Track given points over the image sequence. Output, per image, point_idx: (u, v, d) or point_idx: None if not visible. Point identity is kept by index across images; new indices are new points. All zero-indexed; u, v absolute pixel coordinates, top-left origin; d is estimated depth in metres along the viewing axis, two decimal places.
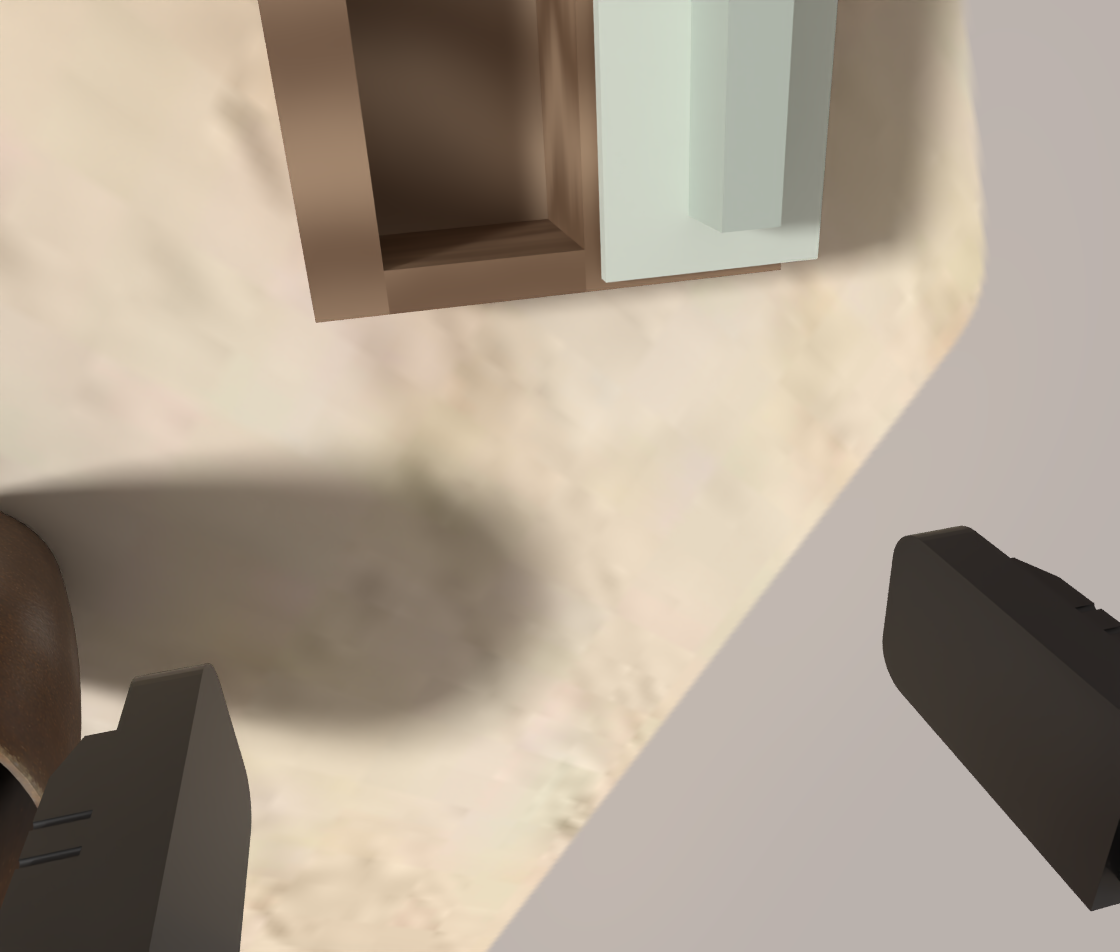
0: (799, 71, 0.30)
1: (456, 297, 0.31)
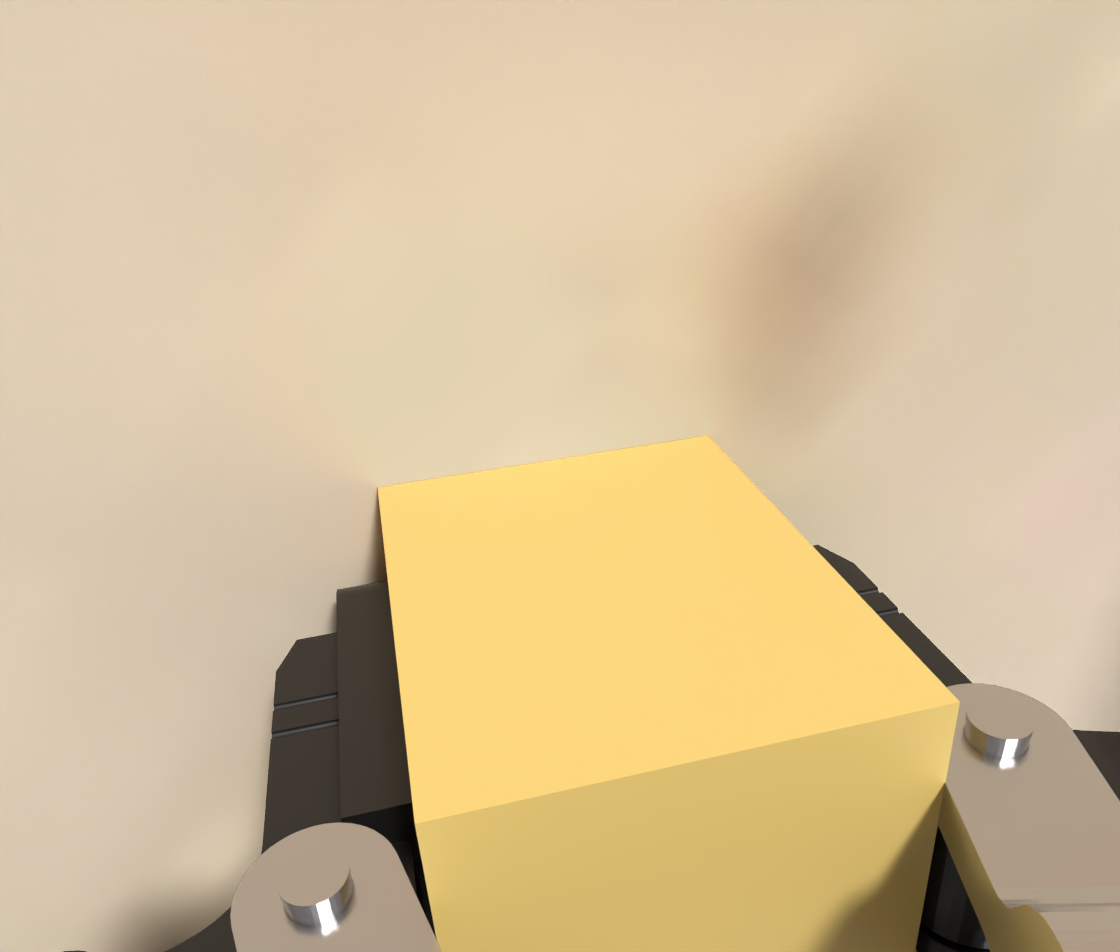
0: None
1: None
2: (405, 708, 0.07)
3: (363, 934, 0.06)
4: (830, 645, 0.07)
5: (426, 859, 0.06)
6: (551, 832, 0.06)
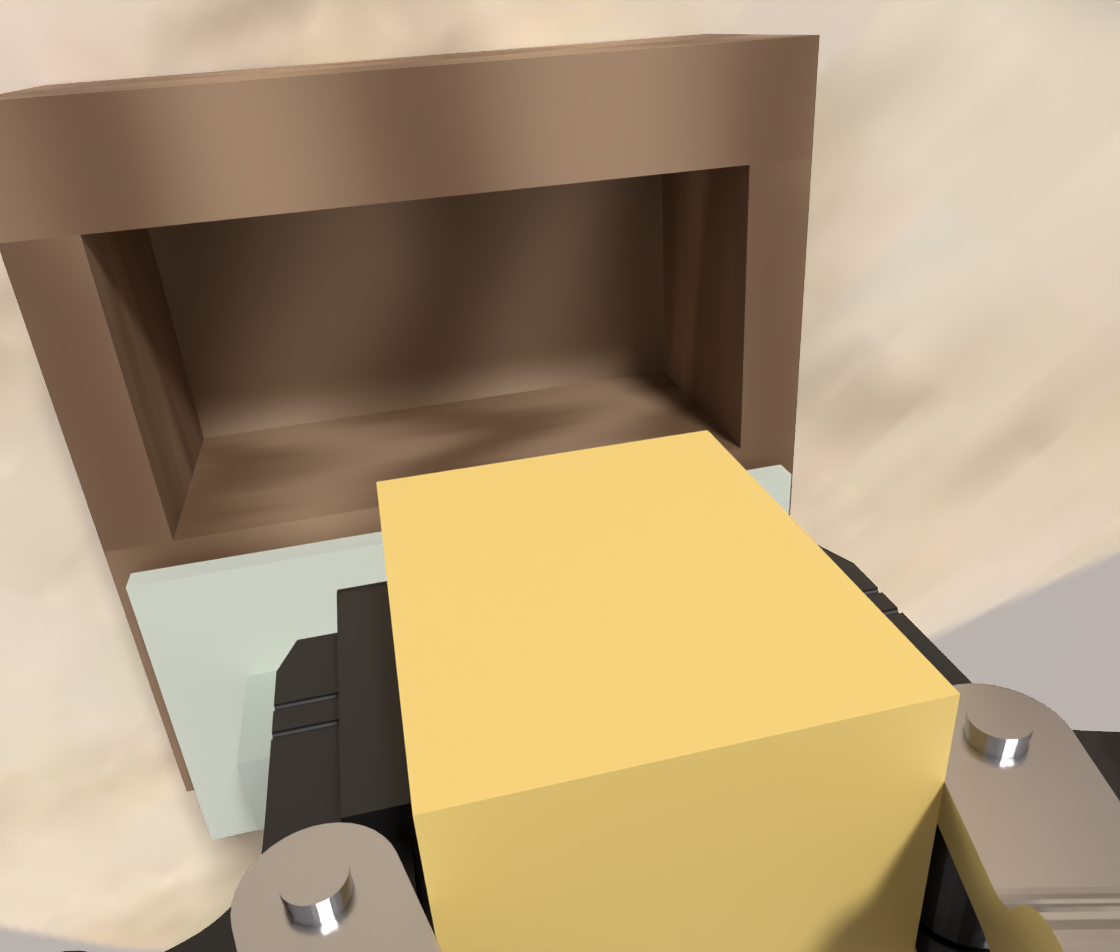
0: None
1: (54, 356, 0.18)
2: (403, 701, 0.07)
3: (362, 934, 0.06)
4: (830, 638, 0.07)
5: (424, 851, 0.06)
6: (549, 824, 0.06)
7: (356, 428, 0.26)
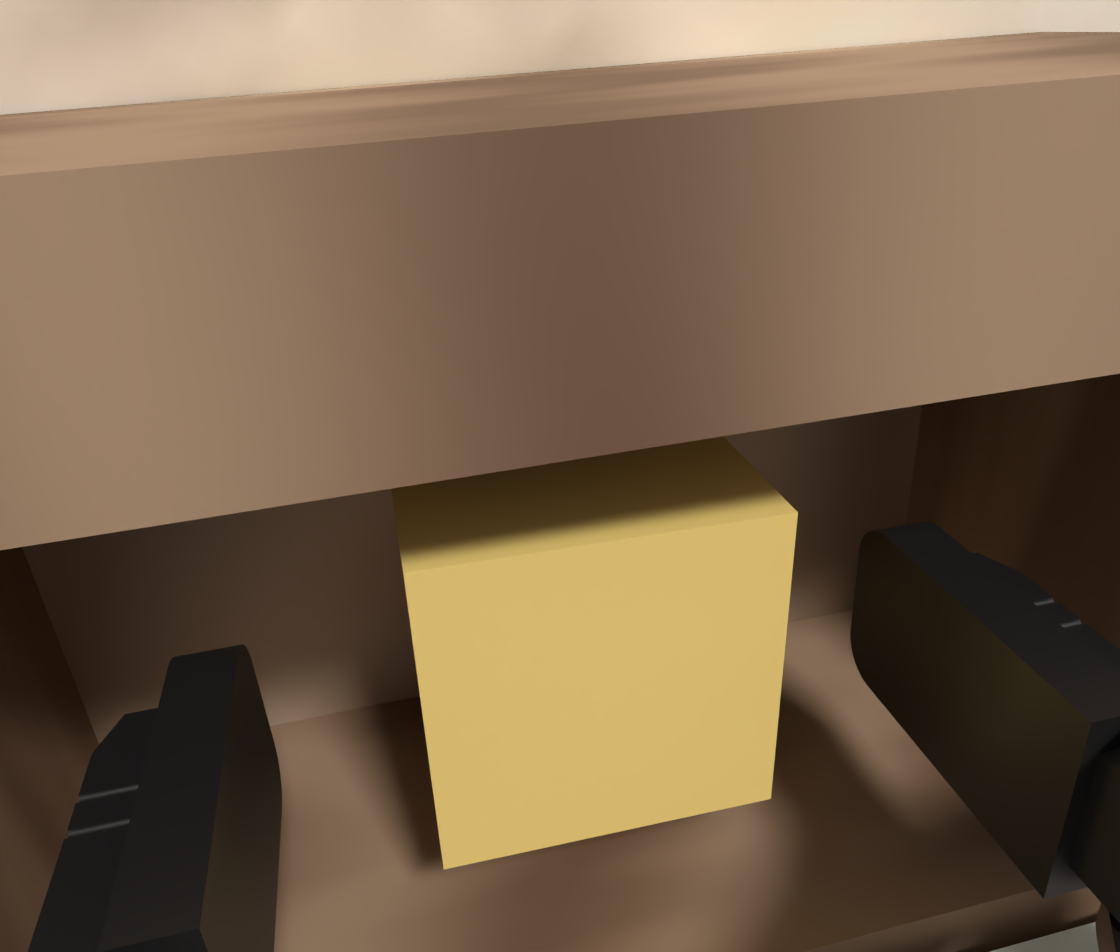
0: None
1: None
2: (397, 515, 0.09)
3: None
4: (713, 482, 0.10)
5: (410, 604, 0.09)
6: (500, 590, 0.09)
7: (380, 743, 0.14)
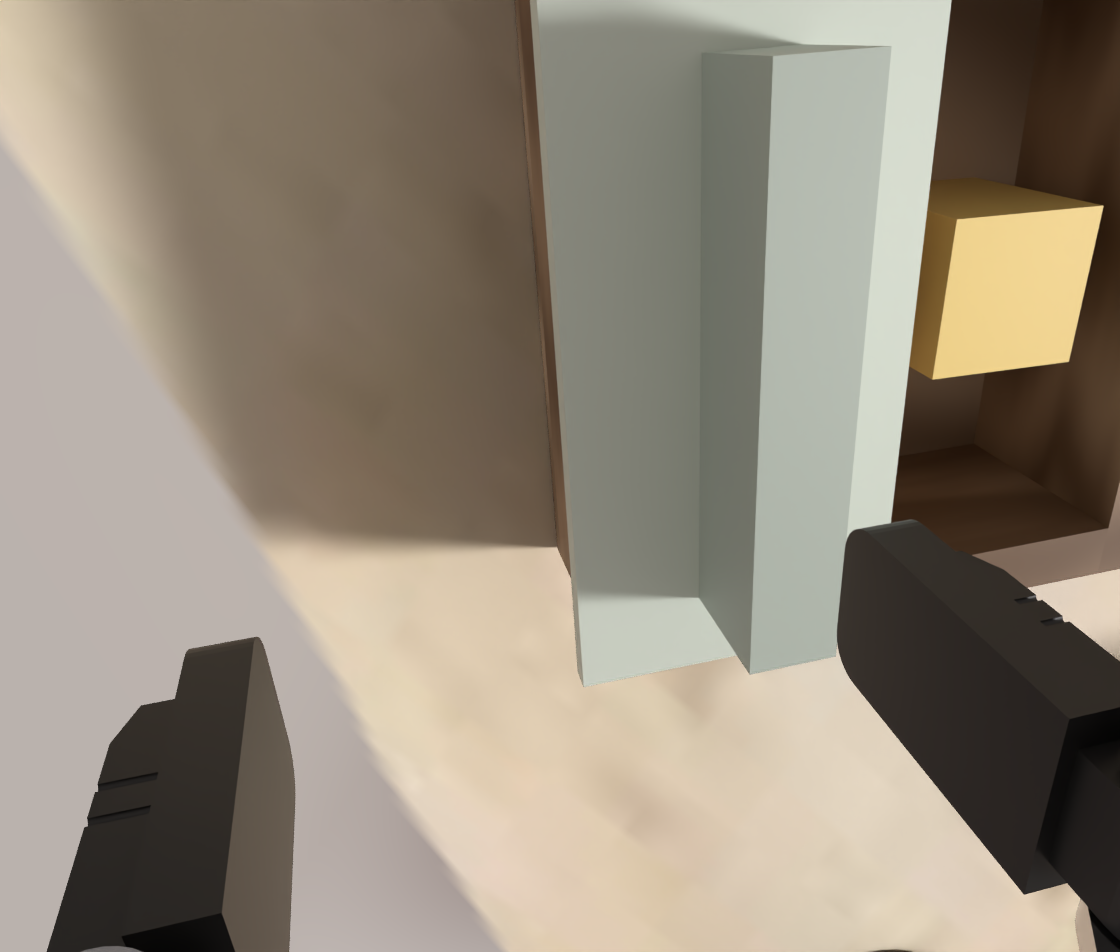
0: (614, 295, 0.18)
1: None
2: (1070, 199, 0.23)
3: None
4: None
5: (1089, 208, 0.22)
6: (1082, 244, 0.22)
7: None
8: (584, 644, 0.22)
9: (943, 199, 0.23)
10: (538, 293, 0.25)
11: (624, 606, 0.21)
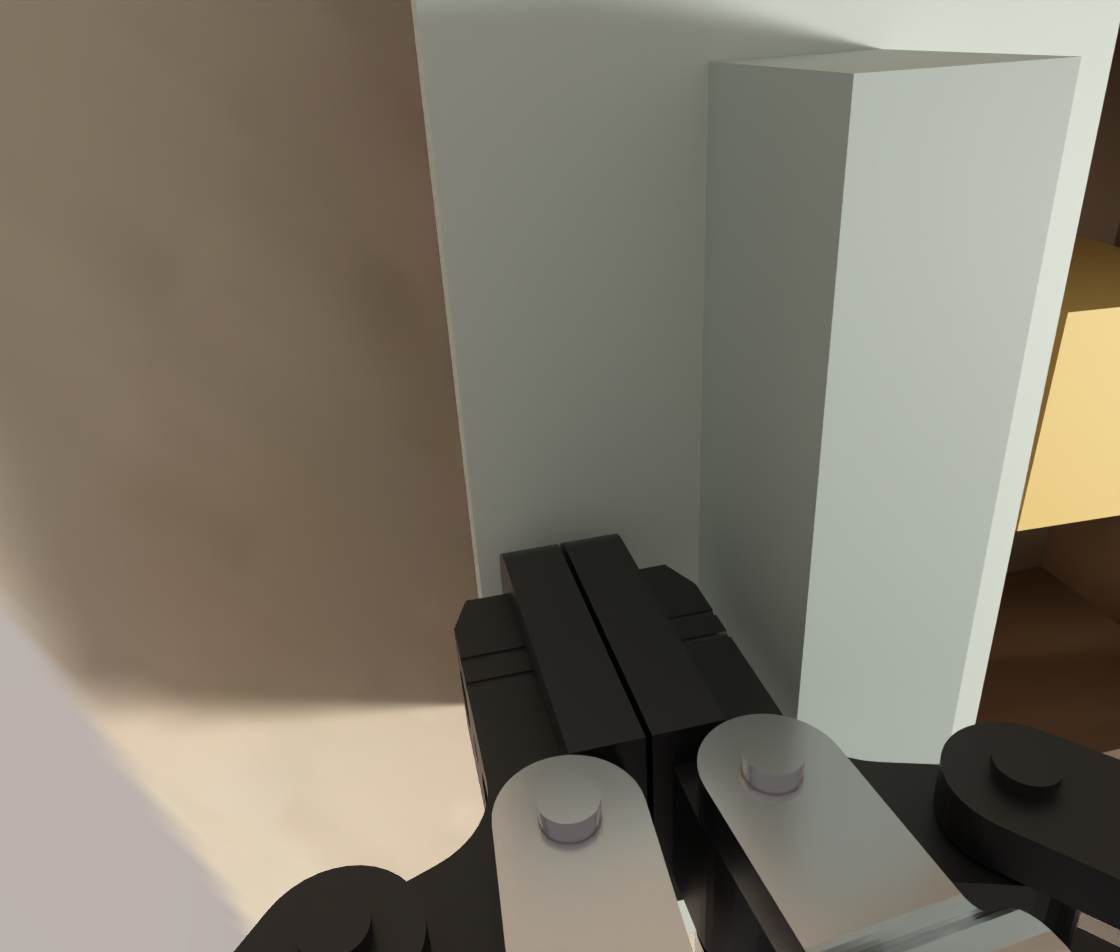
0: (562, 452, 0.11)
1: None
2: None
3: (625, 851, 0.07)
4: None
5: None
6: None
7: None
8: None
9: None
10: None
11: None
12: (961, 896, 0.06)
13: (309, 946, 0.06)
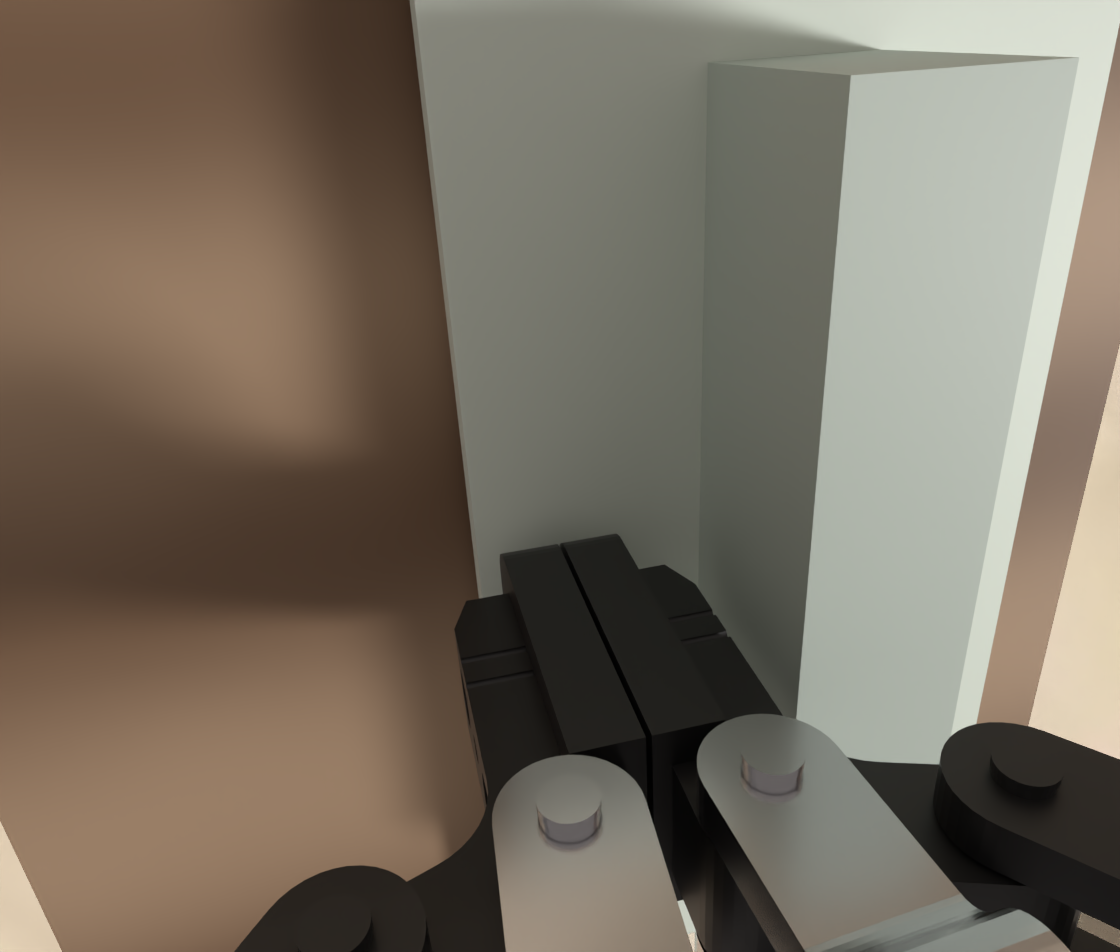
0: (562, 452, 0.11)
1: None
2: None
3: (625, 851, 0.07)
4: None
5: None
6: None
7: None
8: None
9: None
10: None
11: None
12: (961, 896, 0.06)
13: (309, 946, 0.06)
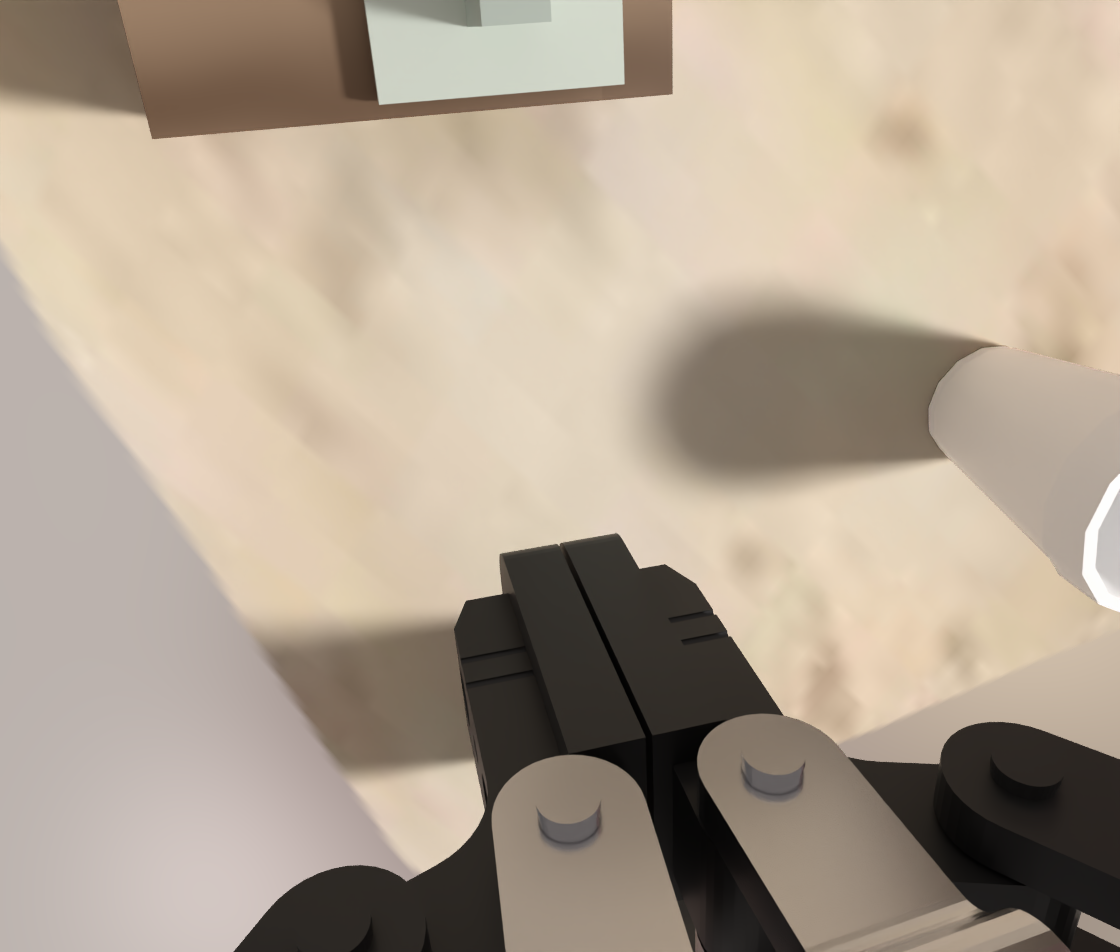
0: None
1: None
2: None
3: (625, 851, 0.07)
4: None
5: None
6: None
7: None
8: (376, 59, 0.28)
9: None
10: None
11: (405, 24, 0.27)
12: (961, 895, 0.06)
13: (309, 946, 0.06)
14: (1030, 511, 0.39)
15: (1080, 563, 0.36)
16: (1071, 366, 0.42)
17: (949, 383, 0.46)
